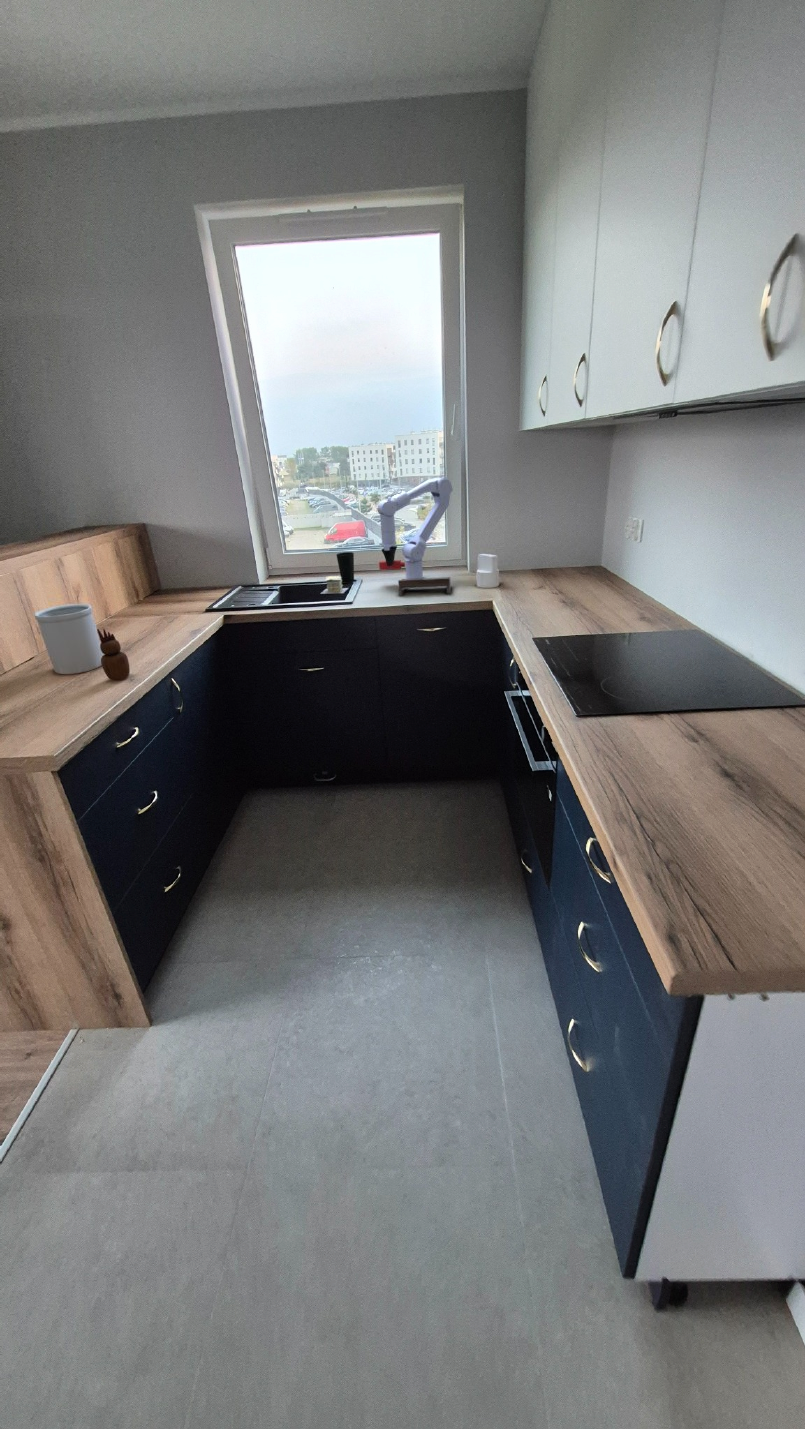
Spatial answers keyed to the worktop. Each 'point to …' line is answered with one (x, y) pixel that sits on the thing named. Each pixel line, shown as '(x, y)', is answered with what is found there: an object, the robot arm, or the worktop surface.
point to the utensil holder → (70, 638)
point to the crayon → (396, 565)
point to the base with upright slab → (487, 571)
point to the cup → (346, 566)
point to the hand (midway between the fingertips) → (390, 565)
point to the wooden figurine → (113, 658)
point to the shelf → (424, 583)
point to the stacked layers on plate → (334, 586)
